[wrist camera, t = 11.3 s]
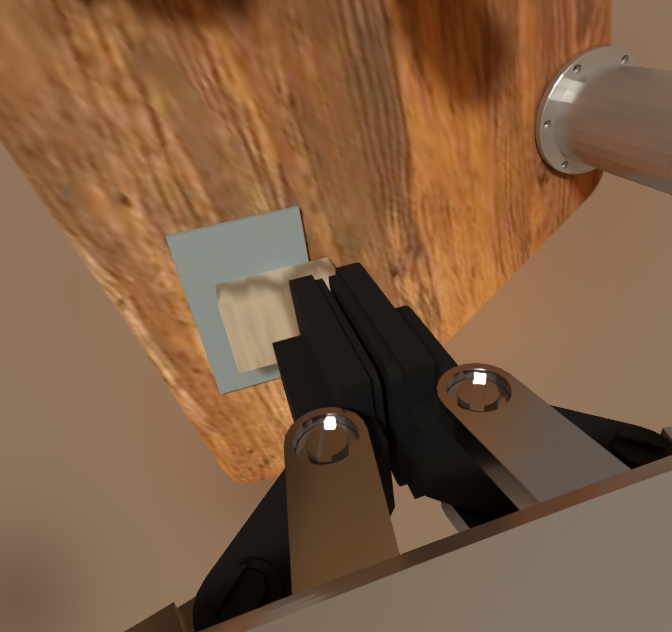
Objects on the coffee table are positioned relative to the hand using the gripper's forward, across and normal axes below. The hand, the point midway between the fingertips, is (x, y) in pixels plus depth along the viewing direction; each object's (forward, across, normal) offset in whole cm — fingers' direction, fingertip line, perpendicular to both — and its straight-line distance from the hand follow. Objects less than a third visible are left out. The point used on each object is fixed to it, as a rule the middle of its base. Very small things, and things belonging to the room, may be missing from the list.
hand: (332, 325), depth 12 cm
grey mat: (+37, +1, +21) cm, 42 cm away
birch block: (+34, -8, +21) cm, 41 cm away
